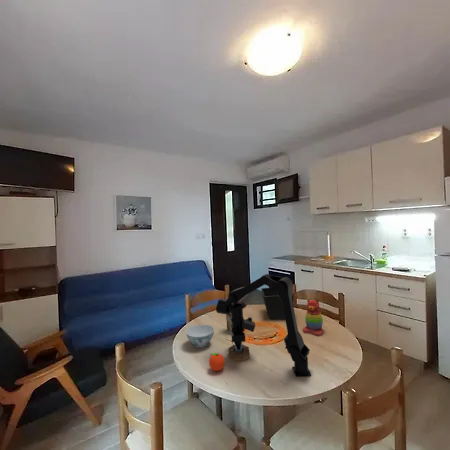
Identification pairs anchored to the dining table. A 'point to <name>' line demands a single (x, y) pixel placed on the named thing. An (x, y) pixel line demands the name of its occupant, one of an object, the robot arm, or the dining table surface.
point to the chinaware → (200, 334)
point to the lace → (230, 340)
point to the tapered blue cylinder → (237, 349)
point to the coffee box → (229, 323)
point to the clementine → (216, 362)
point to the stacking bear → (313, 319)
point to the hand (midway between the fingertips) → (238, 347)
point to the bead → (241, 355)
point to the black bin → (273, 303)
